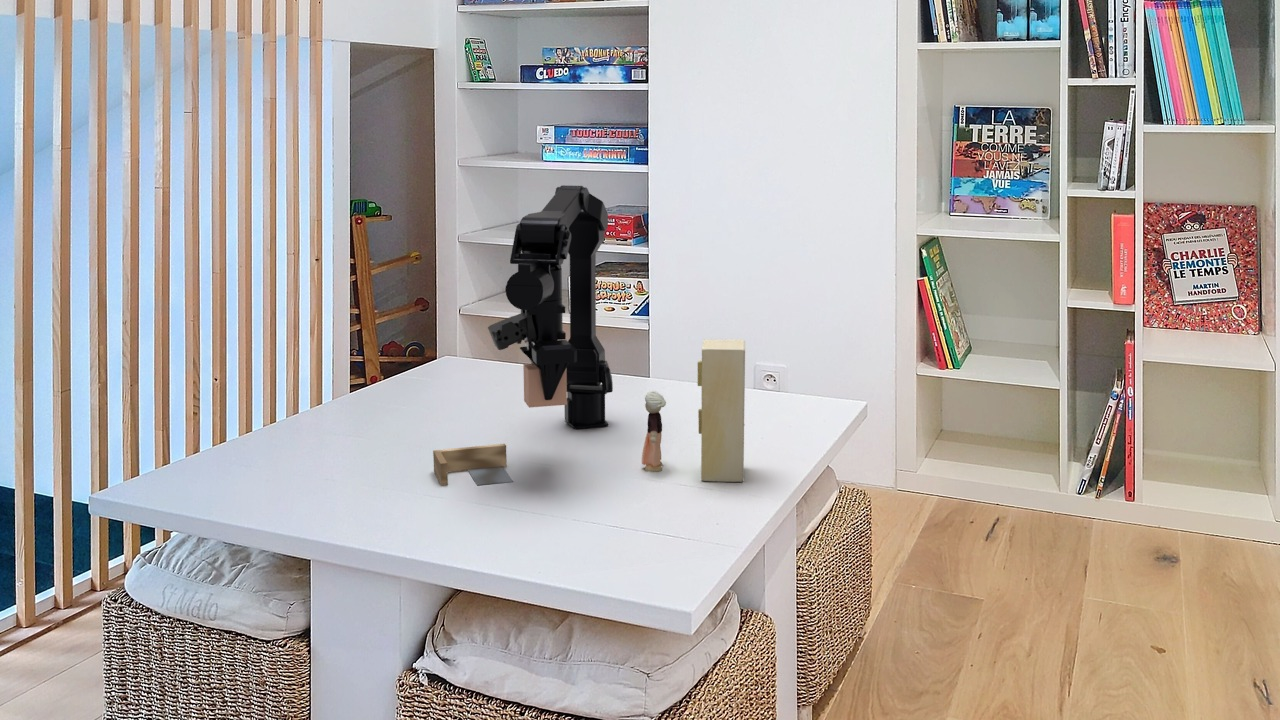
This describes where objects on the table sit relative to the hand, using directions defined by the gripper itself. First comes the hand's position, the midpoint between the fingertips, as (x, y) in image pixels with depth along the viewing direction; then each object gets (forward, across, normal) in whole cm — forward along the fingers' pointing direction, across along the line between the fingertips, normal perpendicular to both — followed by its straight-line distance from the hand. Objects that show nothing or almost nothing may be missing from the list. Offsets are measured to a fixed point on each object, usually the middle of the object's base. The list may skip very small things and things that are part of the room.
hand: (545, 396), depth 185 cm
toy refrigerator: (+12, +10, +26) cm, 30 cm away
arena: (+12, 0, -11) cm, 17 cm away
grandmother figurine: (+12, +4, +16) cm, 21 cm away
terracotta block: (+1, 0, 0) cm, 1 cm away
